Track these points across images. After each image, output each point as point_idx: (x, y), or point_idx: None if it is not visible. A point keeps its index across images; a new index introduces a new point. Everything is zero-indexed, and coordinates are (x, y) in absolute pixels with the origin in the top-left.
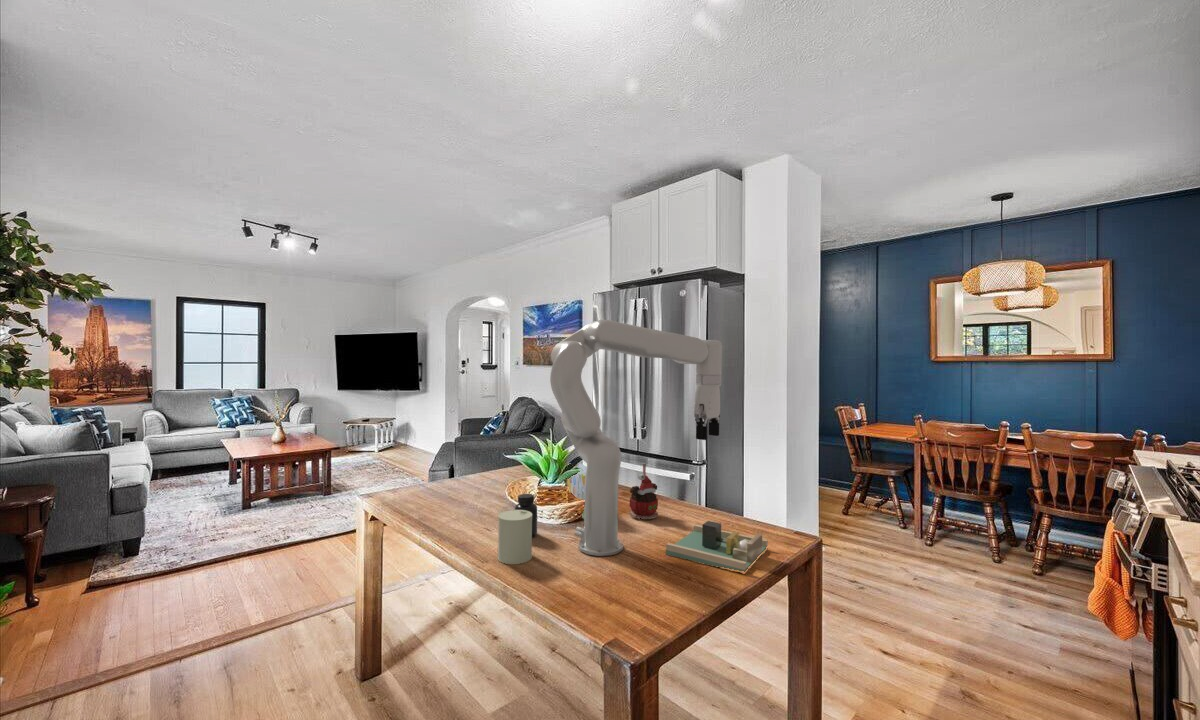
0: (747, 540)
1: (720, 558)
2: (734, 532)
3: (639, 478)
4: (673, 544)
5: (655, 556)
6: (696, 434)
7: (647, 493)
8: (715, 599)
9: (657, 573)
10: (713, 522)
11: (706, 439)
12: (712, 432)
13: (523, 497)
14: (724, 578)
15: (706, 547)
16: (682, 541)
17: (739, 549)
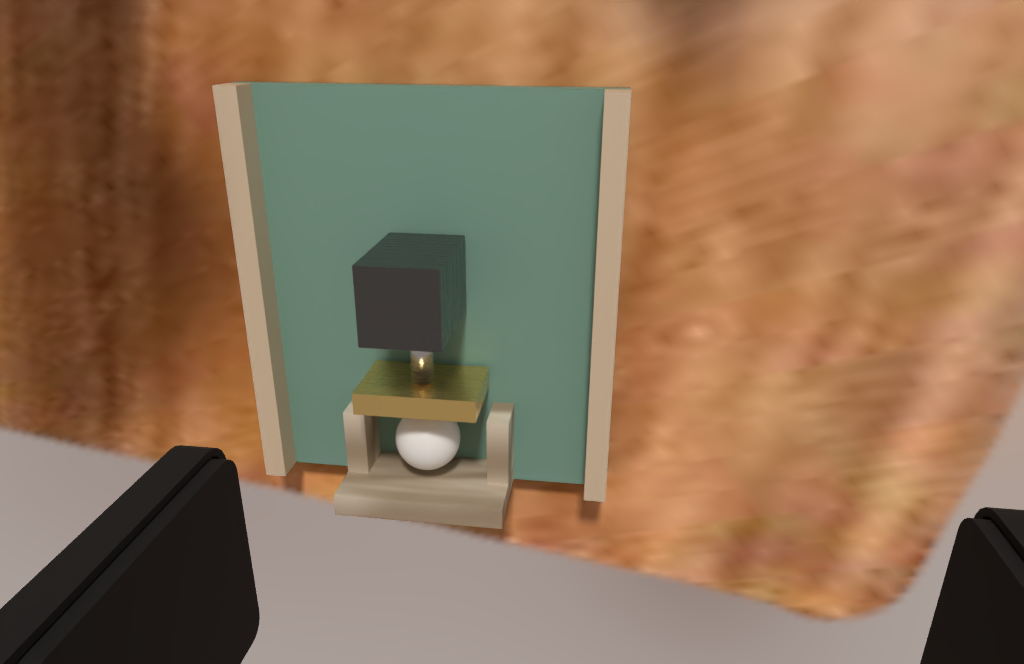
0: (497, 442)
1: (254, 376)
2: (455, 407)
3: None
4: (235, 124)
5: (180, 46)
6: (123, 505)
7: None
8: (40, 414)
9: (40, 150)
10: (430, 308)
11: (248, 627)
12: (971, 641)
13: None
14: (203, 396)
15: None
16: (394, 107)
17: (359, 437)
